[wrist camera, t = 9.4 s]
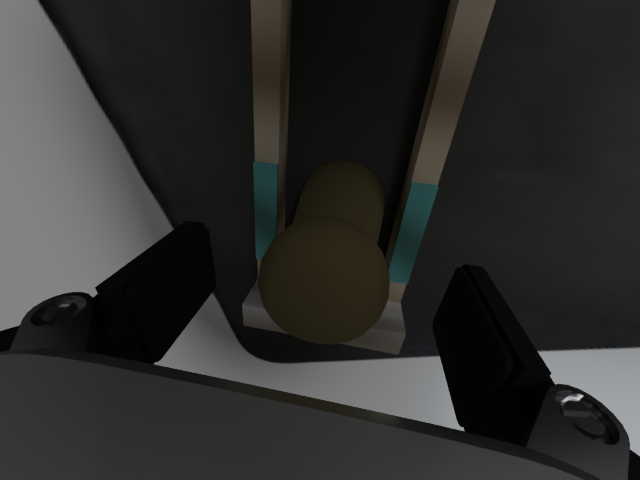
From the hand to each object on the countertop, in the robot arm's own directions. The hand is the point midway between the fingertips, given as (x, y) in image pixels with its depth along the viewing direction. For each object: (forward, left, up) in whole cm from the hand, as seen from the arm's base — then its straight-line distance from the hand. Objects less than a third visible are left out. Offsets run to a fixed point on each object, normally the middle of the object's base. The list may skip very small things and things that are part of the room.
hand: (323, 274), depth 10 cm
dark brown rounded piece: (+1, 0, -10) cm, 10 cm away
